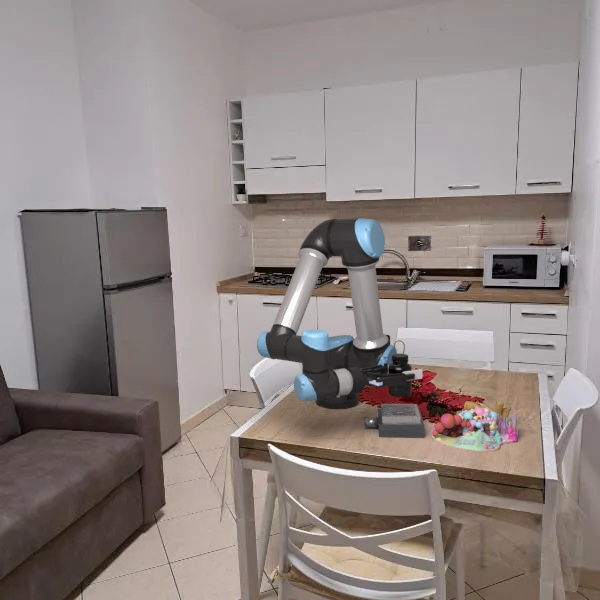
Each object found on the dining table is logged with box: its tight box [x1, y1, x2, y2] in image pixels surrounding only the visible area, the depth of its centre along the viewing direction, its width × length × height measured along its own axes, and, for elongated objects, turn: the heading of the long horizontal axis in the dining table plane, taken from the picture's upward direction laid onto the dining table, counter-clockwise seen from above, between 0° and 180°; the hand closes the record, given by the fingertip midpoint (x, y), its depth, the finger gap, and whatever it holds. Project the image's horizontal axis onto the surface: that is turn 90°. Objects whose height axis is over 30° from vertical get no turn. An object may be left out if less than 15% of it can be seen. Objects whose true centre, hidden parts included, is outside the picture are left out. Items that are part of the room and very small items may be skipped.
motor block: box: [364, 403, 425, 439], centre depth 168 cm, size 17×13×6 cm
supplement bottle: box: [388, 353, 413, 398], centre depth 166 cm, size 7×7×12 cm
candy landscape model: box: [431, 400, 519, 453], centre depth 162 cm, size 25×24×9 cm
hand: (414, 370), depth 167 cm, fingers closed on supplement bottle, 7 cm apart
